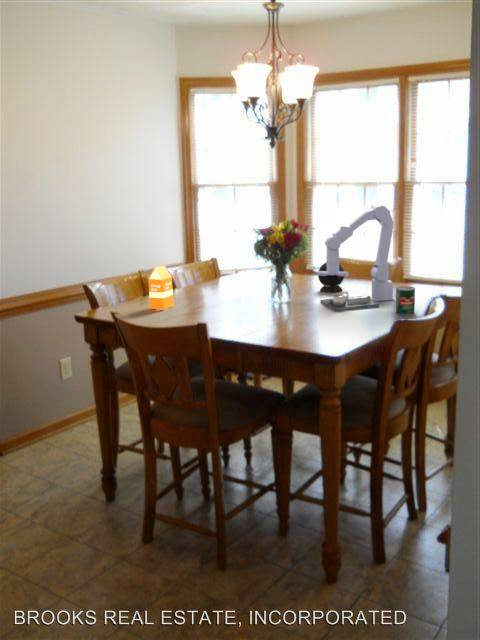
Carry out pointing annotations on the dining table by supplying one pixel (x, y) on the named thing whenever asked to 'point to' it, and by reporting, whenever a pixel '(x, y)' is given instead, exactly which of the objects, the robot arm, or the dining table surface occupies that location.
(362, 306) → the bolt plate
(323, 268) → the black ball on base
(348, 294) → the leg
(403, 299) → the canned tomato
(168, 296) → the orange juice
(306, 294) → the dining table surface
